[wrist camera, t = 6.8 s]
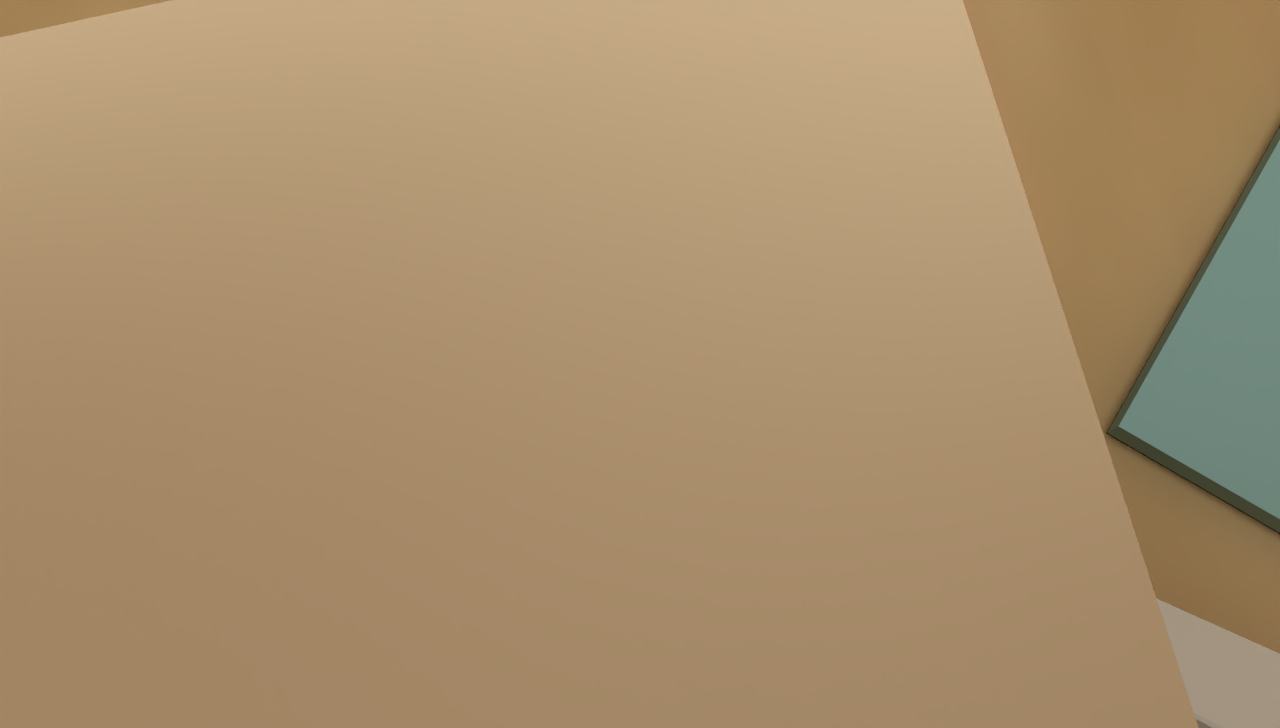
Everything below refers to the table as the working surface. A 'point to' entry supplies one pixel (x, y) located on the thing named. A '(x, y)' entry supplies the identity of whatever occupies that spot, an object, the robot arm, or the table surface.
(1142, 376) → the teal mat
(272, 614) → the maple bar
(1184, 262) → the table surface
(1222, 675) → the robot arm
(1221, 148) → the table surface
